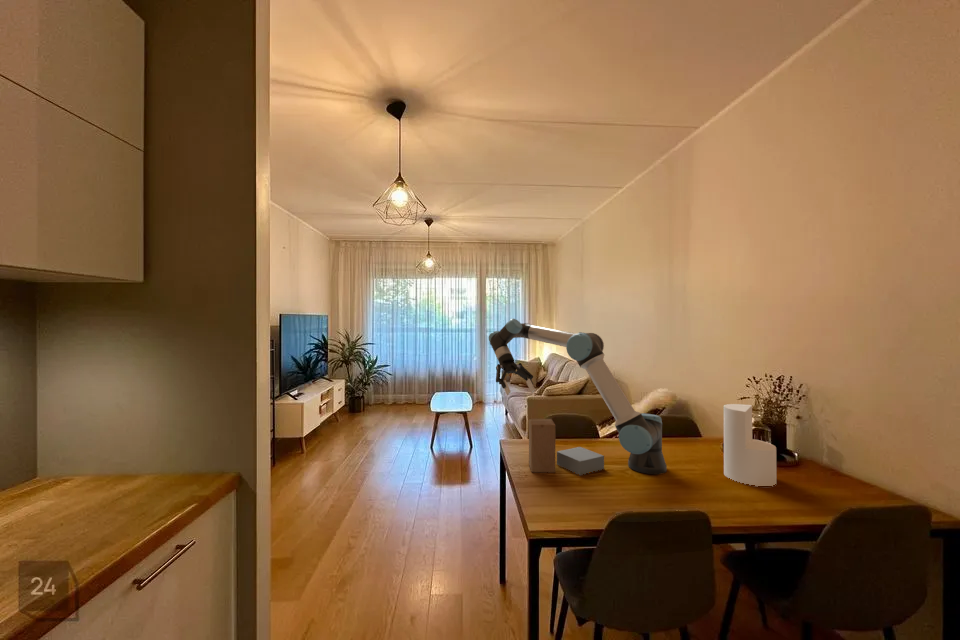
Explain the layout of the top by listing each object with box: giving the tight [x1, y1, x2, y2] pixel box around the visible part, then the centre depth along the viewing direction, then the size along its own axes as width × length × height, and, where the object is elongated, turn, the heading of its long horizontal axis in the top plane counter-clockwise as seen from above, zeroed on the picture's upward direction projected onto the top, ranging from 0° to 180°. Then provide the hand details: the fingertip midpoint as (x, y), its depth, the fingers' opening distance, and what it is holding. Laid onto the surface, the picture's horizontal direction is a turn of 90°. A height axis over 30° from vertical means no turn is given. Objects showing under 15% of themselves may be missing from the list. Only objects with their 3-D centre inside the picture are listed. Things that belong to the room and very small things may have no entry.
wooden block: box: [528, 418, 556, 474], centre depth 161 cm, size 10×10×20 cm
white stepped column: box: [723, 403, 777, 487], centre depth 152 cm, size 17×17×28 cm
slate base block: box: [556, 446, 605, 476], centre depth 163 cm, size 14×14×6 cm
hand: (521, 392), depth 175 cm, fingers open, 13 cm apart
